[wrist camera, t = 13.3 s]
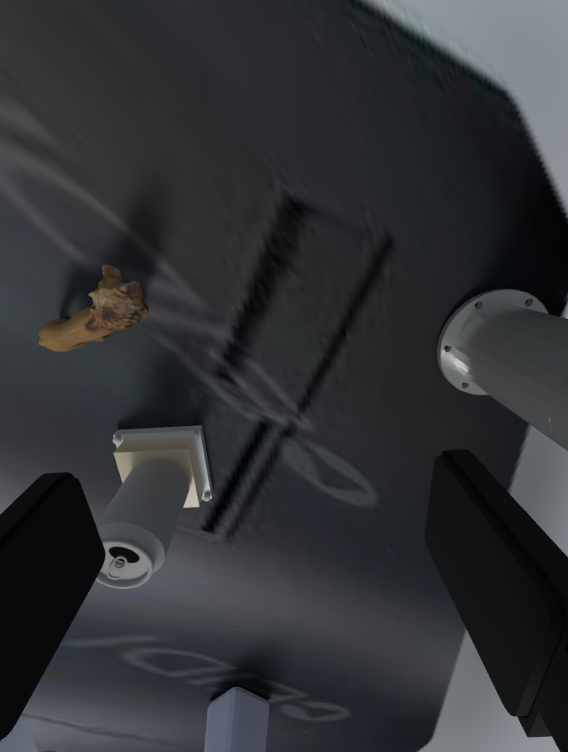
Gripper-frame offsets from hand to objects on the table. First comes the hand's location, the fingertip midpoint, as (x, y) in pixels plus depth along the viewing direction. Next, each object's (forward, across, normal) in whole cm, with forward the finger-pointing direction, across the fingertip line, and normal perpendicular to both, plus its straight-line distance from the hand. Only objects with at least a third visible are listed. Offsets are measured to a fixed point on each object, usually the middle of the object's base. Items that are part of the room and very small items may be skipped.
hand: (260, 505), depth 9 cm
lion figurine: (+30, +18, -1) cm, 36 cm away
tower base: (+30, +16, +20) cm, 40 cm away
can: (+27, +16, +20) cm, 37 cm away
